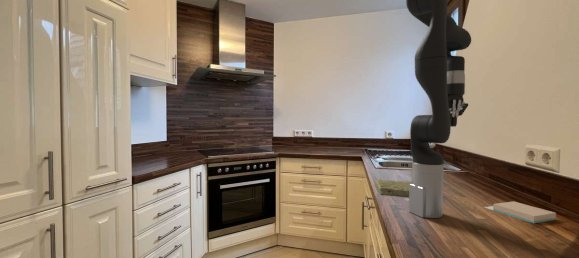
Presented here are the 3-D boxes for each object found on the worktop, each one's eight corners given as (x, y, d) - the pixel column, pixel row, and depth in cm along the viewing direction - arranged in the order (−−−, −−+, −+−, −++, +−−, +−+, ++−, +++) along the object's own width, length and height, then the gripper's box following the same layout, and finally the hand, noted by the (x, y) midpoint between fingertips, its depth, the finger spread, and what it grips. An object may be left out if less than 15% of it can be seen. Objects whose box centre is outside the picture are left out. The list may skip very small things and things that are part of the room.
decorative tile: (374, 185, 128) (374, 178, 128) (418, 188, 124) (418, 180, 124) (379, 196, 110) (379, 188, 110) (431, 200, 106) (431, 191, 106)
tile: (493, 210, 91) (533, 223, 80) (493, 203, 91) (534, 216, 80) (513, 207, 94) (555, 219, 83) (513, 201, 94) (555, 212, 83)
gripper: (447, 81, 101) (445, 126, 101) (475, 82, 103) (474, 126, 104) (432, 84, 108) (431, 126, 109) (459, 85, 111) (458, 126, 111)
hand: (452, 126), depth 106 cm, fingers closed
